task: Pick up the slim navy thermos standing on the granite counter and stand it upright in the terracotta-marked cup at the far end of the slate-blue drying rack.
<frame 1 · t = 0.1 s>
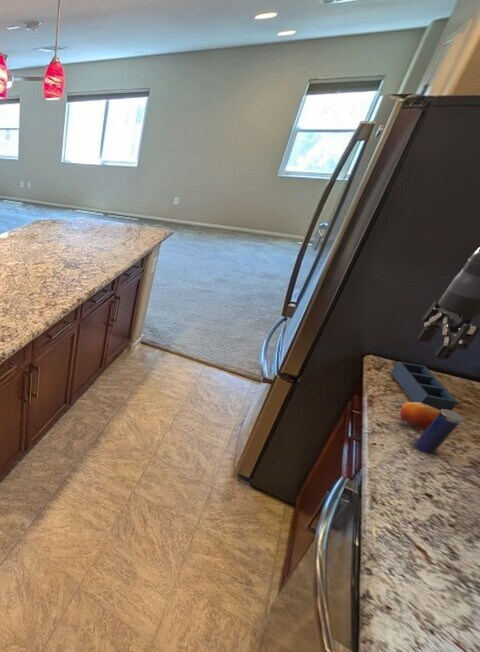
hand: (431, 349, 97), 24 cm above the countertop, tool pointing down, fingers open, 8 cm apart
fruit: (415, 425, 107), on the countertop
rack: (417, 391, 118), on the countertop
thermos: (423, 448, 100), on the countertop
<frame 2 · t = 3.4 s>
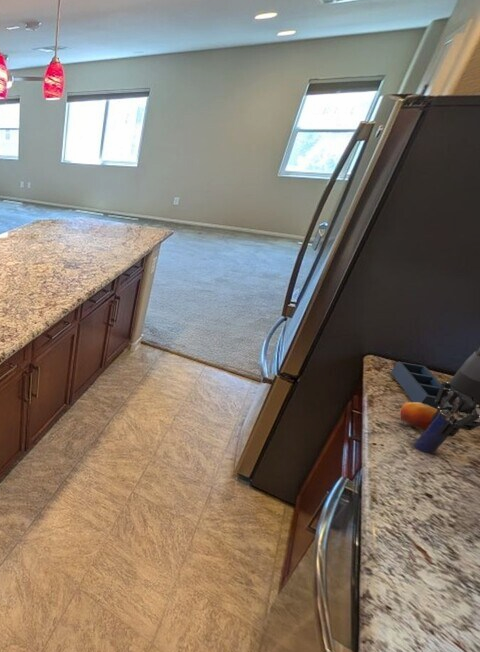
hand: (440, 428, 96), 7 cm above the countertop, tool pointing down, fingers closed on thermos, 3 cm apart
thermos: (423, 448, 100), on the countertop, touching gripper
everything else where it was.
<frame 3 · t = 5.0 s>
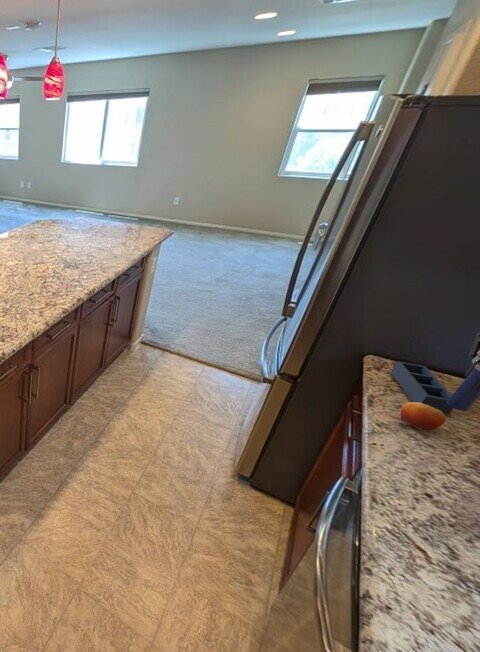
hand: (476, 383, 90), 21 cm above the countertop, tool pointing down, fingers closed on thermos, 3 cm apart
thermos: (457, 406, 93), point 14 cm above the countertop, touching gripper
everything else where it was.
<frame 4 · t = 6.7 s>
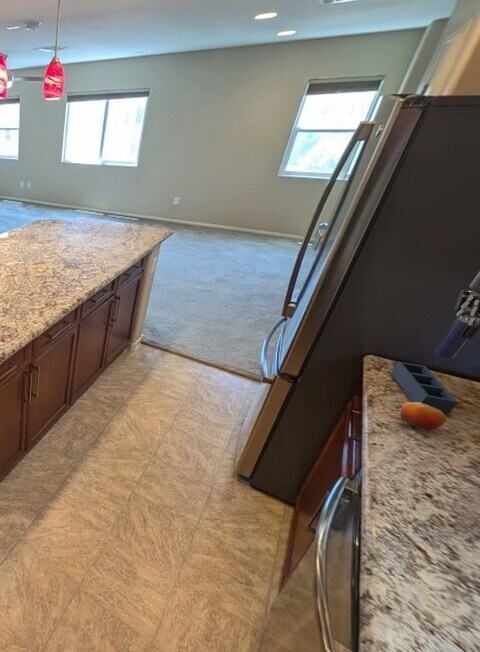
hand: (460, 333, 104), 23 cm above the countertop, tool pointing down, fingers closed on thermos, 3 cm apart
thermos: (443, 354, 108), point 16 cm above the countertop, touching gripper
everything else where it was.
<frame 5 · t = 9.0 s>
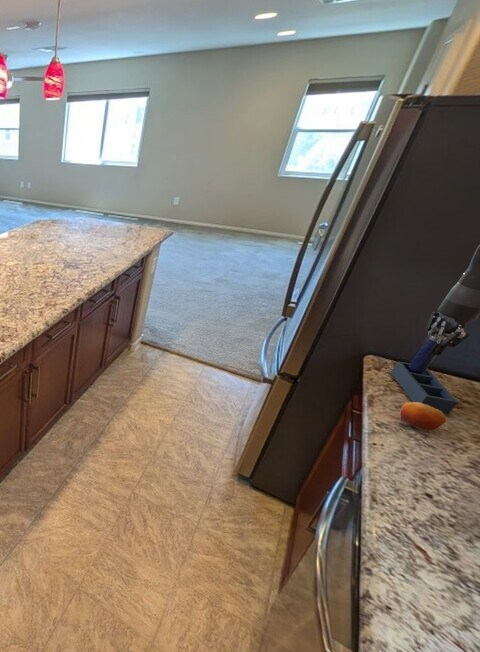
hand: (430, 350, 116), 12 cm above the countertop, tool pointing down, fingers closed on thermos, 3 cm apart
thermos: (416, 368, 120), point 5 cm above the countertop, touching gripper
everything else where it was.
when the fingers open (8 cm above the countertop, at t = 10.5 s): thermos stays where it is, resting on rack.
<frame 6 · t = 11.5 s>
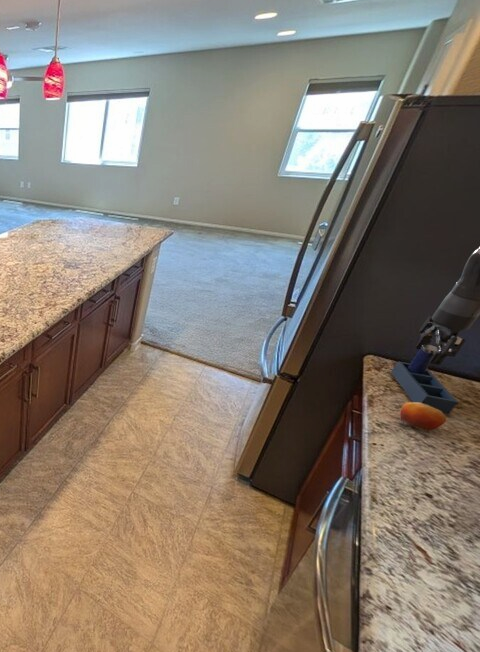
hand: (426, 356, 117), 10 cm above the countertop, tool pointing down, fingers open, 8 cm apart
thermos: (409, 378, 122), point 1 cm above the countertop, touching rack
everything else where it was.
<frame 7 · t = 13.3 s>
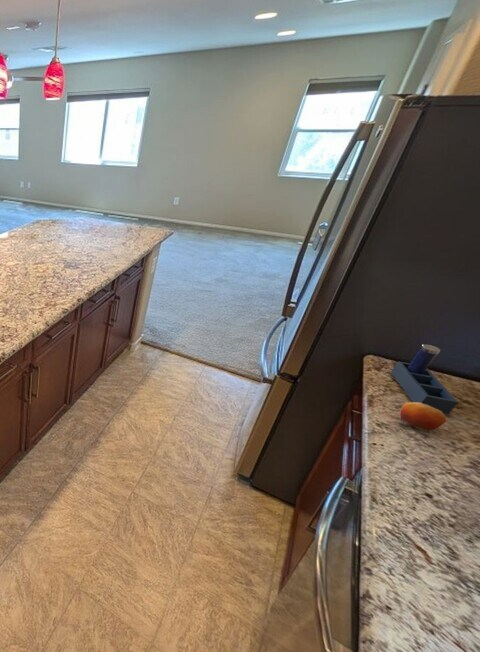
nothing on the countertop moved.
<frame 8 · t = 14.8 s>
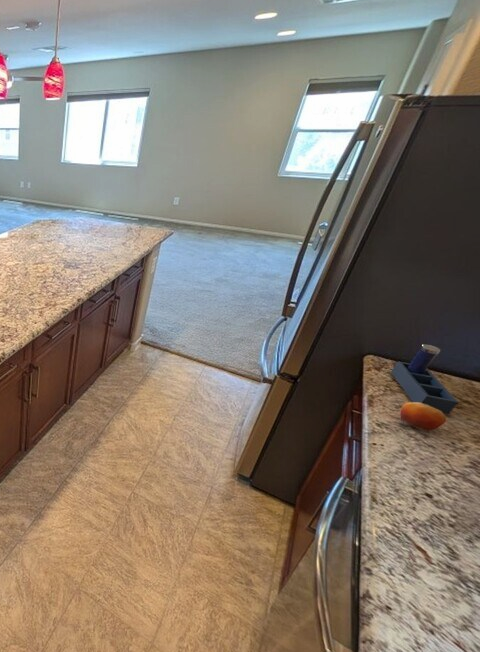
nothing on the countertop moved.
at the end: thermos 0.2 cm from the target spot in the rack, point 0.7 cm above the rack's base; thermos tilted 0°; the gripper is holding nothing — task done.
